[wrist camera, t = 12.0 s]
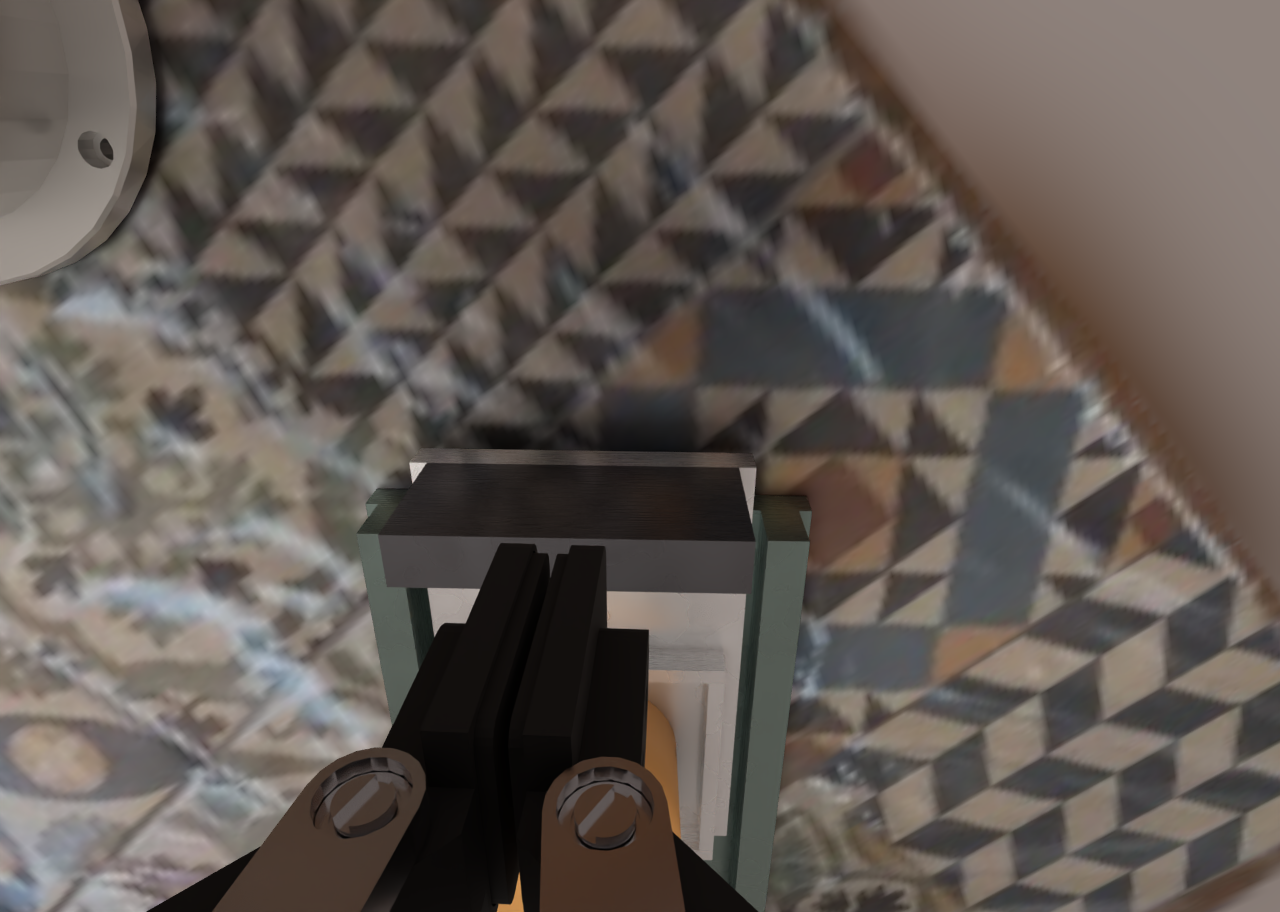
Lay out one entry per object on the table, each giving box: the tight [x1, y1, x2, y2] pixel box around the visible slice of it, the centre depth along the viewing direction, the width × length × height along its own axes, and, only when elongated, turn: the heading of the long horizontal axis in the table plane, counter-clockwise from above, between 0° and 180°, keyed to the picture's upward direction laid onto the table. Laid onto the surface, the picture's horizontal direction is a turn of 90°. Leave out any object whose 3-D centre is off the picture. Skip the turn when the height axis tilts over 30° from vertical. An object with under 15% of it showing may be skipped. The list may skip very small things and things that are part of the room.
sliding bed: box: [378, 448, 756, 860], centre depth 23 cm, size 15×10×5 cm, turn 0°
